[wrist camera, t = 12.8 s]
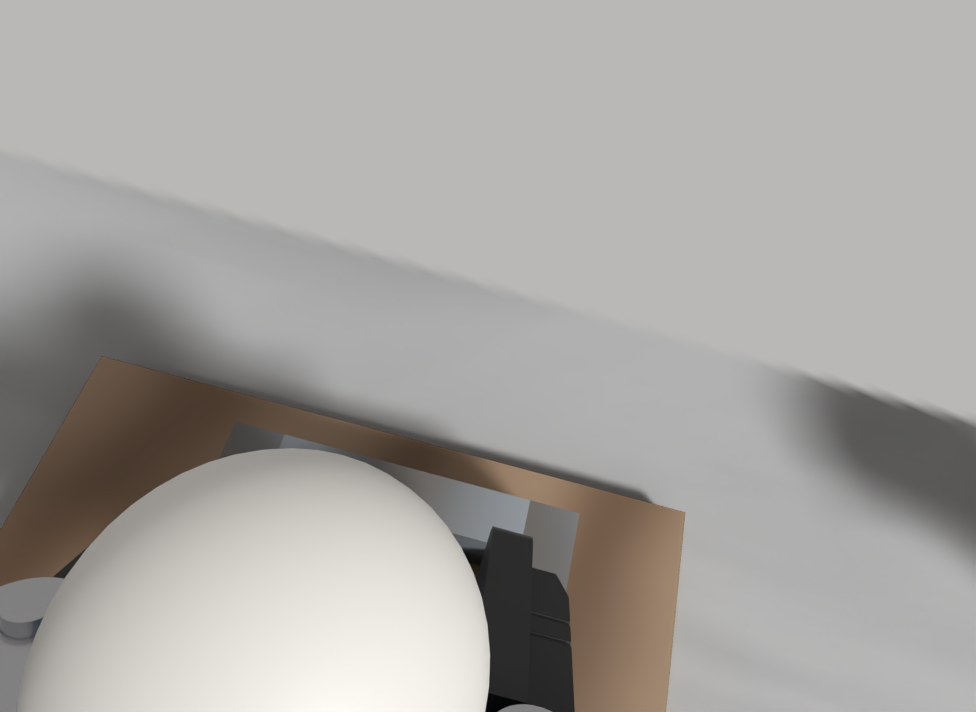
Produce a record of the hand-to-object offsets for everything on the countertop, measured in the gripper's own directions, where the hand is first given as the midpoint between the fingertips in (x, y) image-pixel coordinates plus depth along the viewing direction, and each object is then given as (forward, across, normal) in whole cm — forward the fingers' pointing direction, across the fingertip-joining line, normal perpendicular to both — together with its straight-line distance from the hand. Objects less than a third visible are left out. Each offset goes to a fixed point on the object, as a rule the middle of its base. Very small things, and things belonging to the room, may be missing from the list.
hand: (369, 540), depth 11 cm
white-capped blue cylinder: (+2, 0, +5) cm, 6 cm away
